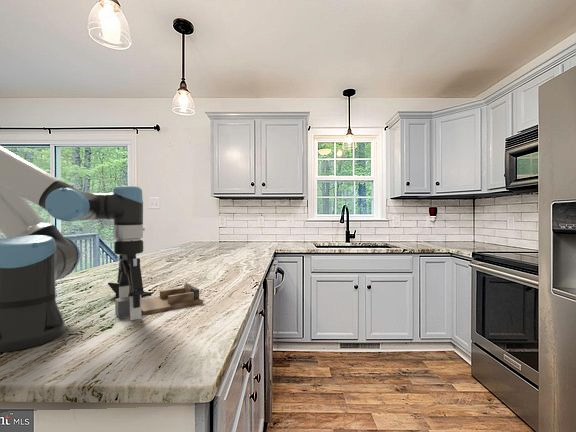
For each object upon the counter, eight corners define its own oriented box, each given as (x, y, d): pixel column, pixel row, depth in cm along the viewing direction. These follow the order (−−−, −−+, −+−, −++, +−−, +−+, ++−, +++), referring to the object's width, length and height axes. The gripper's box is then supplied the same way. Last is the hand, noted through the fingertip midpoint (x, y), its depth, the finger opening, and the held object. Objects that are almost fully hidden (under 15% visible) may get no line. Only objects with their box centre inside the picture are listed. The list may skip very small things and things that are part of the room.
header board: (143, 314, 90) (143, 296, 90) (131, 303, 101) (131, 287, 100) (203, 303, 101) (203, 286, 101) (186, 294, 112) (186, 279, 112)
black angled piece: (155, 288, 115) (141, 270, 109) (146, 305, 109) (131, 286, 103) (128, 291, 117) (113, 273, 111) (118, 307, 112) (102, 289, 106)
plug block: (118, 318, 87) (118, 301, 87) (115, 314, 91) (115, 298, 90) (141, 313, 91) (141, 298, 91) (138, 310, 94) (137, 295, 94)
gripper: (155, 241, 83) (156, 321, 84) (132, 236, 103) (133, 301, 103) (124, 243, 79) (125, 327, 79) (106, 238, 98) (107, 305, 98)
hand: (129, 313), depth 91 cm, fingers open, 13 cm apart
